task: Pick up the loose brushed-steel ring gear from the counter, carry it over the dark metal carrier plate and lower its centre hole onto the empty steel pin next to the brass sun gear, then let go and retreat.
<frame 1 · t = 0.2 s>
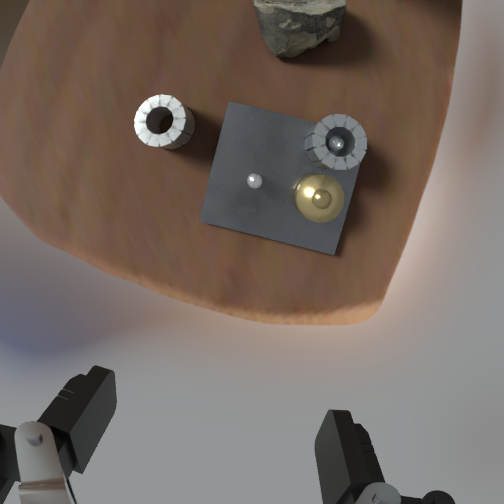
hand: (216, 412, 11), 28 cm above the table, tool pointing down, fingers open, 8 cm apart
carrier: (283, 177, 36), on the table
planet gear: (171, 126, 35), on the table
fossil: (297, 21, 32), on the table
seated gear: (329, 145, 34), resting on carrier
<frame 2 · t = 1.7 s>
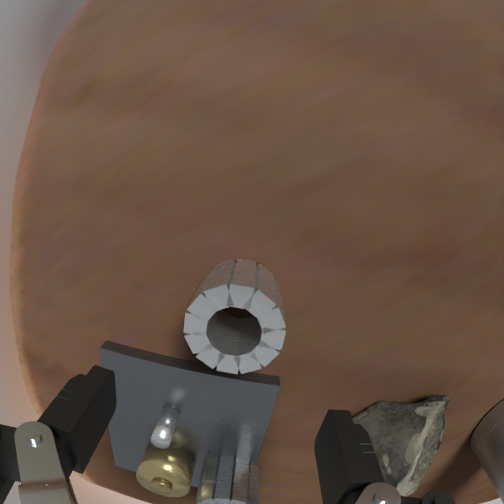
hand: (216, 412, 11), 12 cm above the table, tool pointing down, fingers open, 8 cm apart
carrier: (183, 429, 25), on the table
planet gear: (240, 298, 22), on the table
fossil: (399, 423, 25), on the table
seated gear: (231, 472, 25), resting on carrier
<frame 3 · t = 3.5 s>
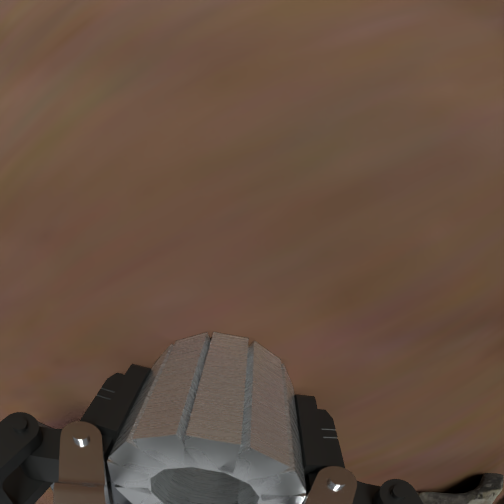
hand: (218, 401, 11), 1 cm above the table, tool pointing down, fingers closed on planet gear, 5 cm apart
planet gear: (220, 393, 12), on the table, touching gripper
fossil: (435, 502, 15), on the table
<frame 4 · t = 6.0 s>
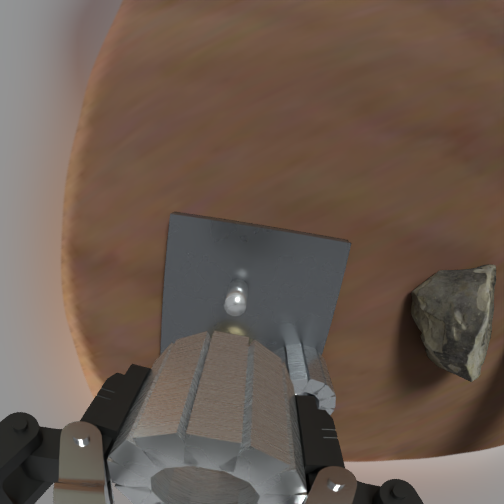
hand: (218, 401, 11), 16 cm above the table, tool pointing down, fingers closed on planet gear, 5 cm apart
carrier: (246, 317, 27), on the table
planet gear: (221, 392, 12), point 15 cm above the table, touching gripper
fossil: (453, 308, 27), on the table
seated gear: (294, 370, 27), resting on carrier
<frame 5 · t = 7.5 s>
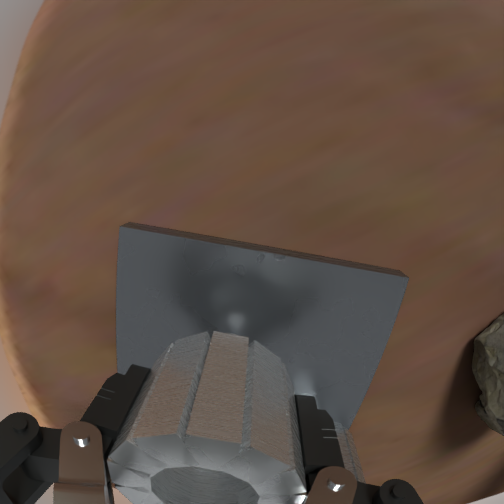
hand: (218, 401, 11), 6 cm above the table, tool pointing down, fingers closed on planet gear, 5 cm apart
carrier: (241, 381, 17), on the table
planet gear: (220, 392, 12), point 5 cm above the table, touching gripper
seated gear: (309, 448, 17), resting on carrier
when the fingers open (2 cm above the table, at t = 8.6 s): planet gear stays where it is, resting on carrier.
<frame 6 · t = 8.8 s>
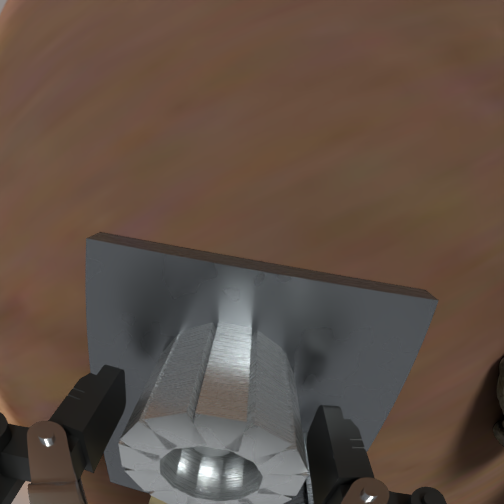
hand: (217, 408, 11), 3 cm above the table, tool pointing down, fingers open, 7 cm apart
carrier: (236, 416, 14), on the table
planet gear: (225, 381, 12), point 1 cm above the table, touching carrier
seated gear: (313, 484, 14), resting on carrier
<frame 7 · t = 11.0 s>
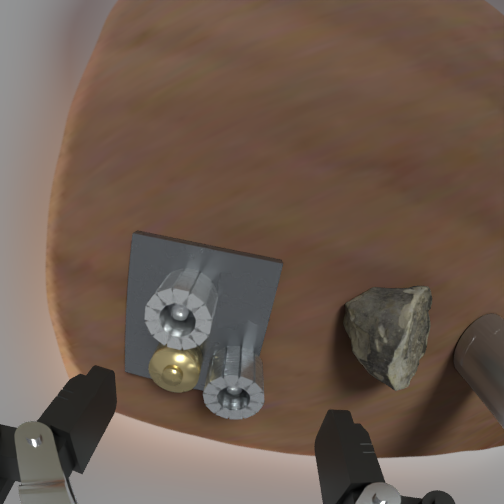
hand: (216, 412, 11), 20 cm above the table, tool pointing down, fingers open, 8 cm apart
carrier: (195, 320, 32), on the table
planet gear: (188, 296, 30), point 1 cm above the table, touching carrier
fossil: (389, 321, 32), on the table
seated gear: (236, 368, 32), resting on carrier
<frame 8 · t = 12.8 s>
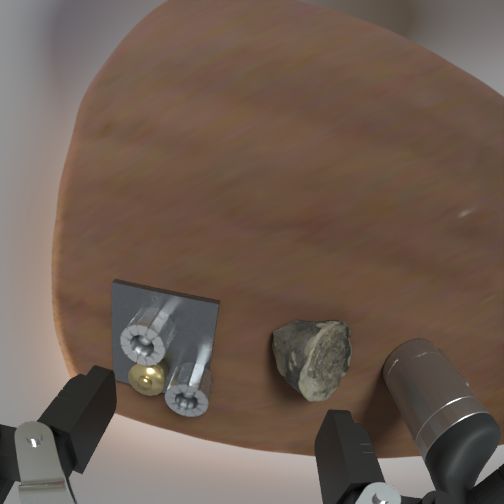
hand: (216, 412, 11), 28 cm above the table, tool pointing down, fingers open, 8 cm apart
carrier: (161, 343, 42), on the table
planet gear: (154, 326, 40), point 1 cm above the table, touching carrier
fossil: (315, 345, 42), on the table
seated gear: (193, 378, 42), resting on carrier
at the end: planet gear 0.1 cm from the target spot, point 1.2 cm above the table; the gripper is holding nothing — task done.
